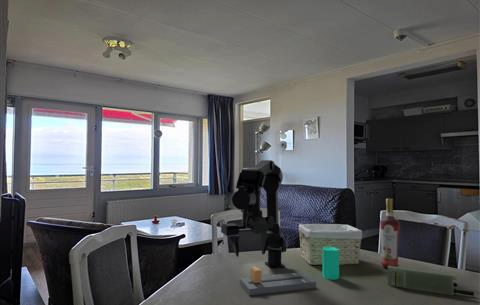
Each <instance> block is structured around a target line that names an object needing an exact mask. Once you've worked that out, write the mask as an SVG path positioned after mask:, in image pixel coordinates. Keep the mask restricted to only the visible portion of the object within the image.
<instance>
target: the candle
mask: <svg viewBox="0 0 480 305" xmlns="http://www.w3.org/2000/svg"><path fill="white" fill-rule="evenodd" d="M321 266H322V277H323V278H324V279H327V280H338V279H339V278H340V265H339V249H337V248H335V247H323V264H322V265H321Z"/></svg>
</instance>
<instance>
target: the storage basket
mask: <svg viewBox="0 0 480 305" xmlns="http://www.w3.org/2000/svg"><path fill="white" fill-rule="evenodd" d="M298 234H299V249H300V256H301V257H302V259H303V260H304V261H305V262H306V263H308V264H309V265H310V266H311V265H312V266H314V265H316V266H317V265H321V266H323V247H335V248H337V249H339V266H342V265H358V264H359V260H360V251H361V243H362V239H363V231H362V230H361V229H358V228H356V227H354V226H352V225H349V224H341V223H340V224H338V223H304V224H303V223H299V225H298Z"/></svg>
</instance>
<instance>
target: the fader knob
mask: <svg viewBox="0 0 480 305" xmlns="http://www.w3.org/2000/svg"><path fill="white" fill-rule="evenodd" d="M249 273H250V276H249V277H250V279H251V280H252V281H253V282H254V283H261V276H262V269H261V268H260V267H258V266H255V265H253V266H250V272H249Z"/></svg>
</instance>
